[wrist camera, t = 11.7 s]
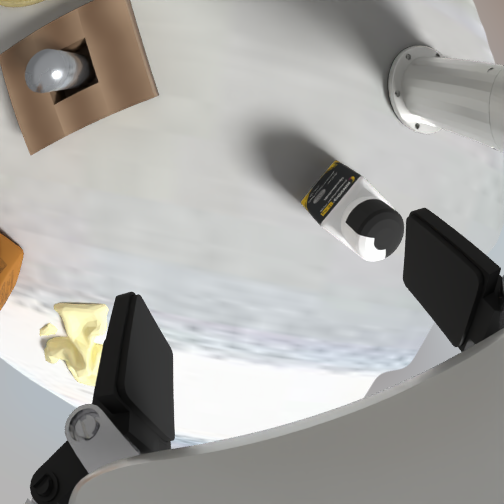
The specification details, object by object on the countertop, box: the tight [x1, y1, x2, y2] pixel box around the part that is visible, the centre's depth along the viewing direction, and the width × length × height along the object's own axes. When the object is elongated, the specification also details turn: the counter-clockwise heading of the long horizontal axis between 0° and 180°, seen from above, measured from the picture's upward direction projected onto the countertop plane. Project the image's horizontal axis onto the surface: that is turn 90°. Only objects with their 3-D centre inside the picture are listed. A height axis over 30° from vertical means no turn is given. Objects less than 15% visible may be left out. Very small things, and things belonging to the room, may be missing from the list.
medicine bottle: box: [301, 160, 404, 261], centre depth 35 cm, size 7×7×12 cm
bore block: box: [0, 0, 159, 155], centre depth 24 cm, size 14×12×5 cm
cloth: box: [40, 303, 108, 386], centre depth 43 cm, size 22×19×6 cm
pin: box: [25, 49, 96, 93], centre depth 21 cm, size 4×4×10 cm
